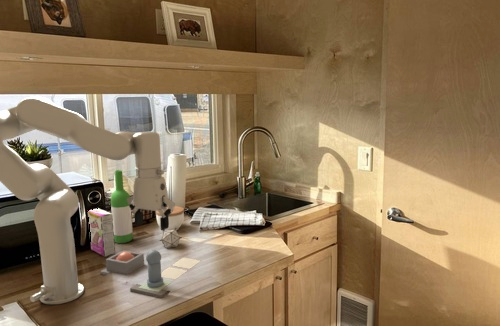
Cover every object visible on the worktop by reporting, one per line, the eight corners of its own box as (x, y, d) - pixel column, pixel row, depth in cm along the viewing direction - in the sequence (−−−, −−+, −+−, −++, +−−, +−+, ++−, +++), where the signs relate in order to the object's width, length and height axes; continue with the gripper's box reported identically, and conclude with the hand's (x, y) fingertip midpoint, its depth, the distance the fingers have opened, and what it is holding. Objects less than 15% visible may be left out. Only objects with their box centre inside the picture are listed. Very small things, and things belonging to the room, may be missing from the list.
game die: (174, 258, 164) (175, 244, 157) (155, 250, 165) (155, 236, 158) (184, 241, 171) (186, 227, 163) (165, 233, 172) (166, 219, 165)
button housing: (128, 279, 138) (126, 265, 137) (100, 274, 143) (99, 260, 142) (150, 266, 149) (149, 252, 148) (124, 261, 153) (123, 248, 153)
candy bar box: (90, 250, 165) (86, 210, 162) (101, 246, 168) (98, 207, 166) (104, 257, 157) (100, 215, 154) (116, 253, 161) (113, 212, 158)
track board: (161, 298, 125) (161, 294, 125) (130, 291, 130) (130, 287, 130) (208, 263, 150) (208, 260, 150) (180, 258, 155) (180, 255, 155)
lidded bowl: (190, 228, 189) (189, 204, 188) (168, 235, 180) (167, 211, 178) (172, 222, 197) (171, 200, 196) (151, 229, 188) (149, 206, 186)
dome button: (126, 272, 142) (125, 256, 141) (113, 269, 144) (111, 254, 143) (138, 265, 147) (137, 250, 146) (124, 262, 149) (123, 248, 148)
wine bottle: (114, 245, 170) (108, 173, 165) (113, 239, 177) (107, 169, 172) (134, 242, 173) (129, 171, 168) (132, 236, 180) (127, 168, 175)
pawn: (157, 289, 129) (154, 254, 127) (144, 286, 131) (141, 252, 129) (166, 282, 133) (164, 248, 131) (153, 279, 135) (151, 246, 133)
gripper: (179, 172, 126) (182, 226, 128) (134, 168, 133) (137, 220, 136) (165, 177, 119) (167, 234, 122) (117, 173, 126) (121, 227, 129)
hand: (151, 226), depth 129 cm, fingers open, 9 cm apart
